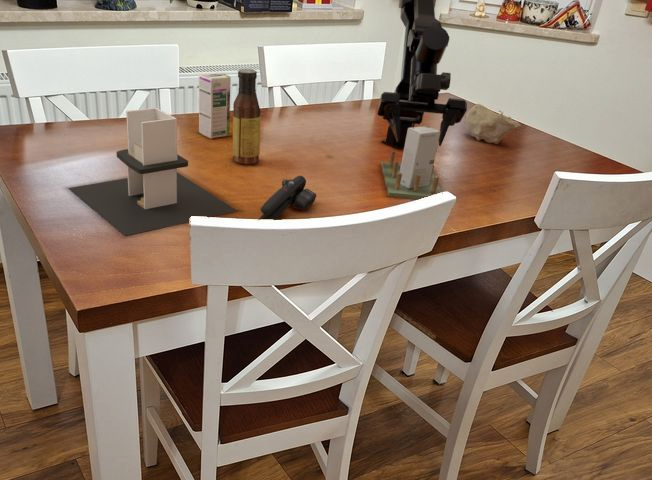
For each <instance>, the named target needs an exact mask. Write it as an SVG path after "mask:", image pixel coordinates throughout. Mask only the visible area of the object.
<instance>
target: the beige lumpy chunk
mask: <svg viewBox="0 0 652 480" xmlns="http://www.w3.org/2000/svg"><path fill="white" fill-rule="evenodd" d="M464 124H465V128H466V130H467V132H468V135H470V136H471V137H473V138H475V139H476V140H477V141H478V142H480V141H481V140H483V141H485V143H487V144H494V145H498V144H499V143H500V142H501V140H502V139H504V137H506V136H507V135H508V134H509V133H512V132H513V131H516V130H519V129H520V128H521V127H522V124H520V123H519V122H518V121H517V120H513V119H512V117H511V116H506V115H505V114H504V111H501V110H498V113H497V112H494V111H492V110H491V109H489V108H487V107H486V106H485V105H482V104H481V103H476V104H475V105H473V106H472V107H471V108H469V110H467V112H466V114H465V121H464Z"/></svg>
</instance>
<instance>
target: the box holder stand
mask: <svg viewBox="0 0 652 480" xmlns="http://www.w3.org/2000/svg"><path fill="white" fill-rule="evenodd" d="M125 117H126V134H127V135H126V137H127V148H126V149H120V150H117V151H116V158H117V159H119V160H120V161H121V162H122V163H123V164H124V165H126V168H127V177H125V178H119V179H112V180H107V181H101V182H96V183H95V182H94V183H89V184H84V185H78V186H72V187H67V188H68V190H70V192H71V193H73V194H74V195H76V196H77V198H79V199H80V200H81V201H82V202H84V203H85V204H86V205H87V206H89V207H90V208H91V209H92V210H93V211H95V212H96V213H97V214H98V215H100V216H101V217H102V218H103V219H104V220H105V221H106V222H107V223H109V224H110V225H111V226H112V227H114V228H115V229H116V230H117V231H119V232H120V233H121V234H122V235H123V236H125V237H127V236H131V235H132V236H133V235H137V234H140V233H145V232H149V231H154V230H158V229H162V228H168V227H173V226H176V225H177V226H178V225H181V224H185V223H190V222H189V218H190V217H191V216H207V217H208V218H213V217H217V216H221V215H225V214H231V213H235V212H239V210H238V209H236V208H234V207H233V206H231V204H228V203H227V202H225V201H224V200H222V199H220V198H218V197H217V196H216V195H214V194H213V193H211V192H209V191H208V190H206V189H205V188H203V187H202V186H200V185H198V184H197V183H195V182H194V181H191V180H190V179H189V178H187V177H186V176H184V175H183V174H181V173H179V172H178V171H177V169H181V168H182V169H183V168H187V167H189V160H187V159H186V158H185V157H183V156H181V155H179V154H178V118H176V117H175V116H173V115H171V114H169V113H167V112H165V111H163V110H162V109H160V108H157V107H151V108H150V107H149V108H141V109H131V110H126V111H125Z"/></svg>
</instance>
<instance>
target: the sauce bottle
mask: <svg viewBox="0 0 652 480" xmlns="http://www.w3.org/2000/svg"><path fill="white" fill-rule="evenodd" d="M257 75H258V73H257V70H255V69H252V68H242V69H238V70H237V77H238V89H237V90H238V93H237V95H236V97H235V99H234V101H233V107H232V108H233V111H232V112H233V115H232V155H233V161H234V162H235V163H238V164H240V165H248V166H249V165H250V166H251V165H255V164H257V163H258V162H259V160H260V154H261V153H260V152H261V119H262V117H261V116H262V115H261V114H262V111H261V107H260V104H259V99H258V95H257V89H256V87H257V86H256V85H257V84H256V83H257V78H258V76H257Z"/></svg>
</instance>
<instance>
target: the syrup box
mask: <svg viewBox="0 0 652 480" xmlns="http://www.w3.org/2000/svg"><path fill="white" fill-rule="evenodd" d="M231 82H232V80H231V76H229V75H227V74H226V73H223V72H219V71H215V72H209V73H208V72H207V73H199V74H198V132H199V133H200V134H201V135H202V136H204V137H206V138H208V139H216V138H223V137H224V138H225V137H230V126H231V125H230V124H231V123H230V121H231Z"/></svg>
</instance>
